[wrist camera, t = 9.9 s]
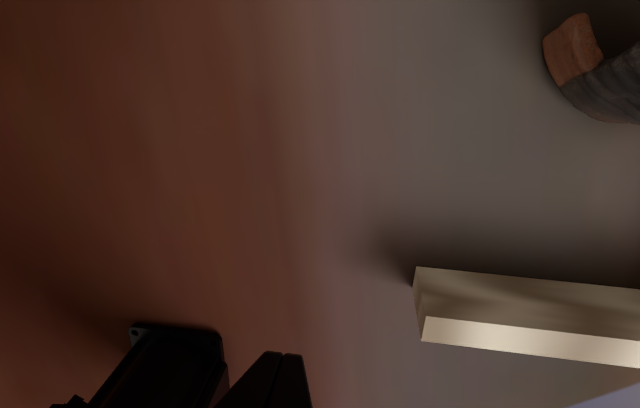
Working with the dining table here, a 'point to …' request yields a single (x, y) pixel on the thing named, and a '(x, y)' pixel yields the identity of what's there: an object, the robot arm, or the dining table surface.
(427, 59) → the dining table surface
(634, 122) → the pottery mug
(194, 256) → the dining table surface
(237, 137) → the dining table surface
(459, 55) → the dining table surface
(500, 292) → the birch bracket
